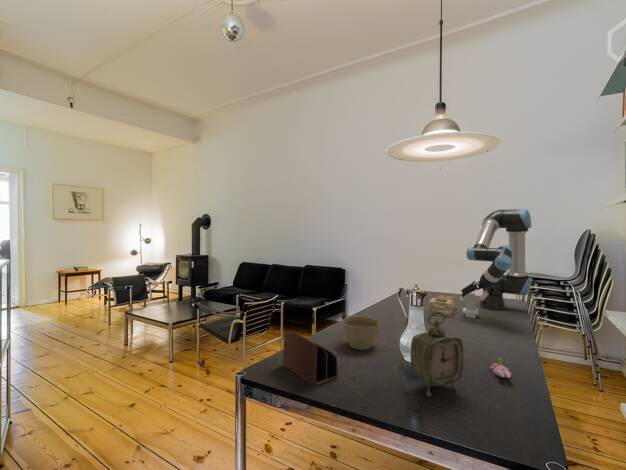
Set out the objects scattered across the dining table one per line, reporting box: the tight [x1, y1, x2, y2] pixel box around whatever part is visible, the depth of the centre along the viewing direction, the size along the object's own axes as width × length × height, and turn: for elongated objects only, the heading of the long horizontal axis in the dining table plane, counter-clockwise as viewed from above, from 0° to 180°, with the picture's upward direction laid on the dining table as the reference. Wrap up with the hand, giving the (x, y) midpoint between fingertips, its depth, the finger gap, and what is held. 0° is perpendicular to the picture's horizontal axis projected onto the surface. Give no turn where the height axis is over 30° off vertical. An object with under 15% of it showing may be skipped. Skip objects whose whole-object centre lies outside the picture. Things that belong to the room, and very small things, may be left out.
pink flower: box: [489, 358, 512, 379], centre depth 113 cm, size 6×6×15 cm
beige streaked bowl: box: [428, 297, 454, 318], centre depth 195 cm, size 12×12×8 cm
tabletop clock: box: [410, 312, 464, 397], centre depth 102 cm, size 14×9×25 cm, turn 114°
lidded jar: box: [436, 294, 455, 307], centre depth 207 cm, size 11×11×9 cm
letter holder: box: [282, 331, 338, 387], centre depth 114 cm, size 10×20×14 cm, turn 37°
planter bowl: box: [342, 316, 381, 351], centre depth 140 cm, size 16×16×11 cm
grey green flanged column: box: [462, 292, 479, 319], centre depth 189 cm, size 8×8×14 cm
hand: (471, 298), depth 189 cm, fingers open, 13 cm apart
